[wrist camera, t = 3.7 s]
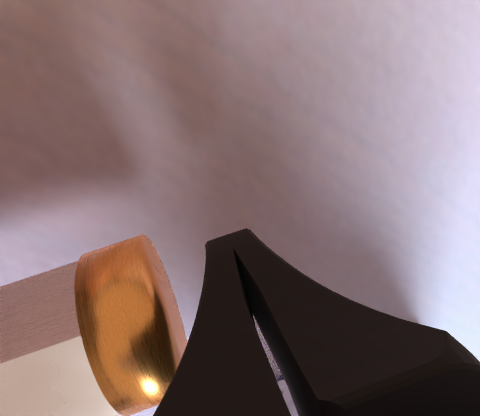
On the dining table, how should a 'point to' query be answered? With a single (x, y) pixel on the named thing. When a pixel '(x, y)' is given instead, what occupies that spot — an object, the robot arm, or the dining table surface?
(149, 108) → the dining table surface
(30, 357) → the shaft
